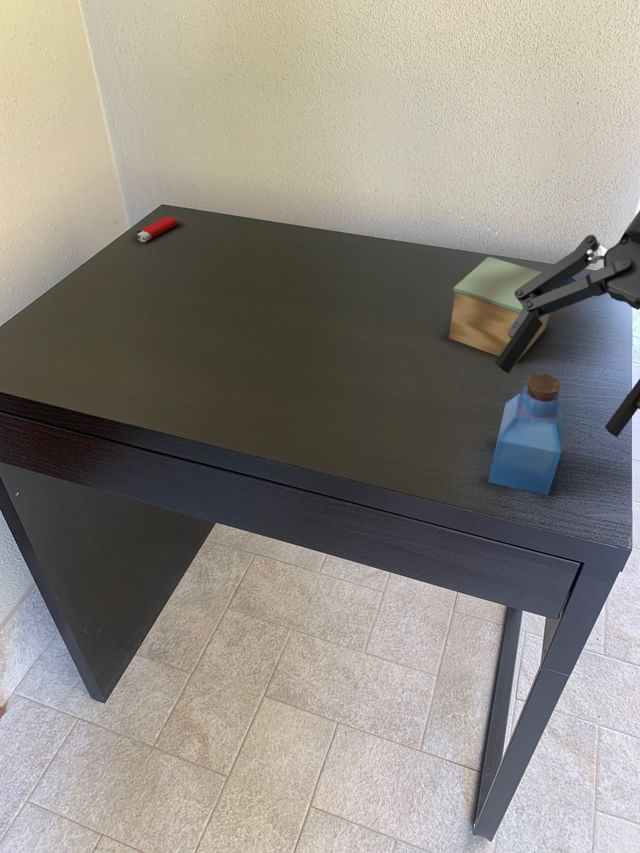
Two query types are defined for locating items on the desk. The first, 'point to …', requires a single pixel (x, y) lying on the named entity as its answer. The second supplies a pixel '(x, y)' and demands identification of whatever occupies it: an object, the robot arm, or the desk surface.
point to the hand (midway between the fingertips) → (552, 398)
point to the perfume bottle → (530, 437)
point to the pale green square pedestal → (490, 305)
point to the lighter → (156, 228)
